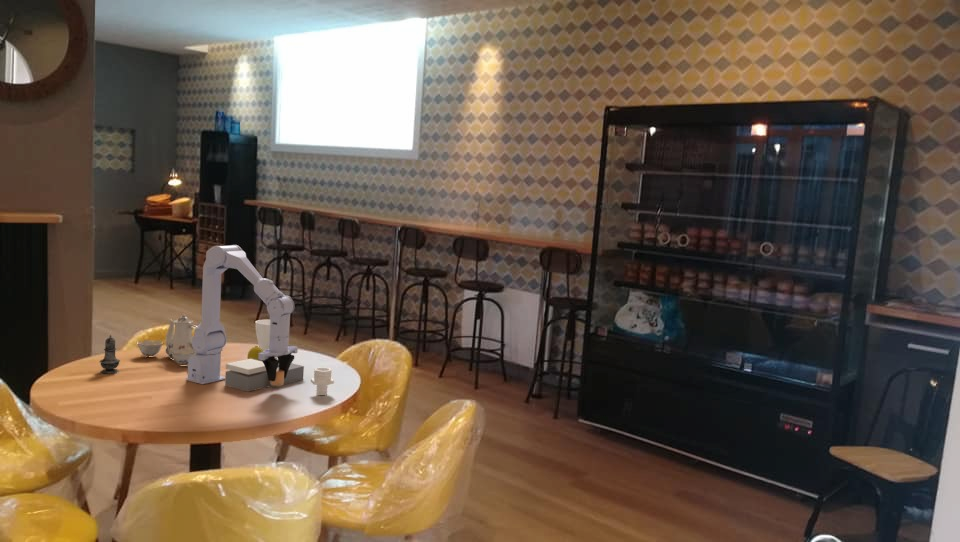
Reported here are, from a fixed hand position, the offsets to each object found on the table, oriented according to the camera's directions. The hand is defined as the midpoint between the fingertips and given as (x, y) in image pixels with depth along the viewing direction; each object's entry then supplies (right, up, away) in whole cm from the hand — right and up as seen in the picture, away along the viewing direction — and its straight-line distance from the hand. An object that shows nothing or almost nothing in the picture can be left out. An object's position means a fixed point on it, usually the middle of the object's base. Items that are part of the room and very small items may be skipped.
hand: (277, 379), depth 217 cm
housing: (-8, -3, +11) cm, 14 cm away
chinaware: (-45, +2, +31) cm, 54 cm away
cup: (-15, +1, +43) cm, 46 cm away
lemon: (-15, -1, +27) cm, 31 cm away
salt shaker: (-57, +1, +9) cm, 57 cm away
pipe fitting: (+13, -5, +2) cm, 14 cm away
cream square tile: (-10, +2, +6) cm, 12 cm away
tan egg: (0, -1, 0) cm, 2 cm away
